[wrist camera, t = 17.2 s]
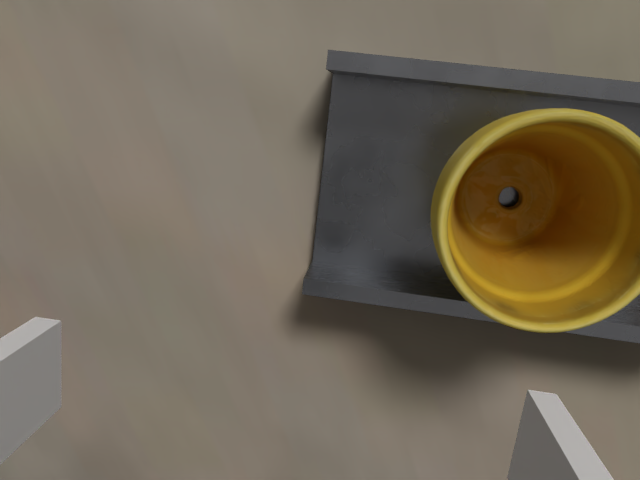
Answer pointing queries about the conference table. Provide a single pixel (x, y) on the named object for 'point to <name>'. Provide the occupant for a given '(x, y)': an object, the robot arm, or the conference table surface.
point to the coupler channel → (425, 172)
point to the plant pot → (543, 219)
